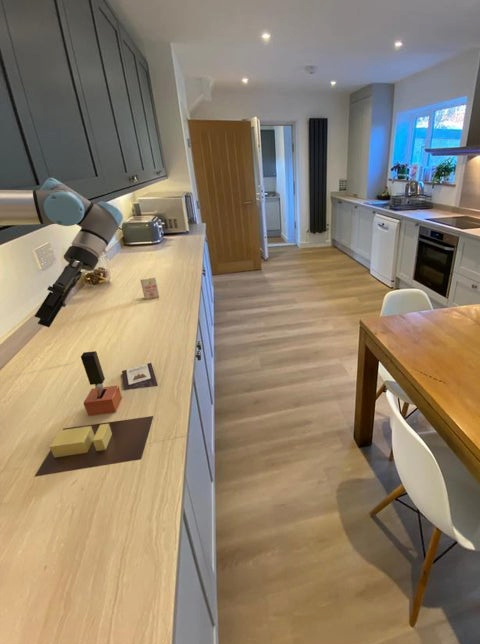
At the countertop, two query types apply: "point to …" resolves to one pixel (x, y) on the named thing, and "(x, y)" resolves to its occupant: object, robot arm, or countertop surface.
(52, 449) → the butter
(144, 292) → the tea bag
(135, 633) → the countertop surface
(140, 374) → the chocolate bar
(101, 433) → the butter slice
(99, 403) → the knife stand
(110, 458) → the board
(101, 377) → the knife
